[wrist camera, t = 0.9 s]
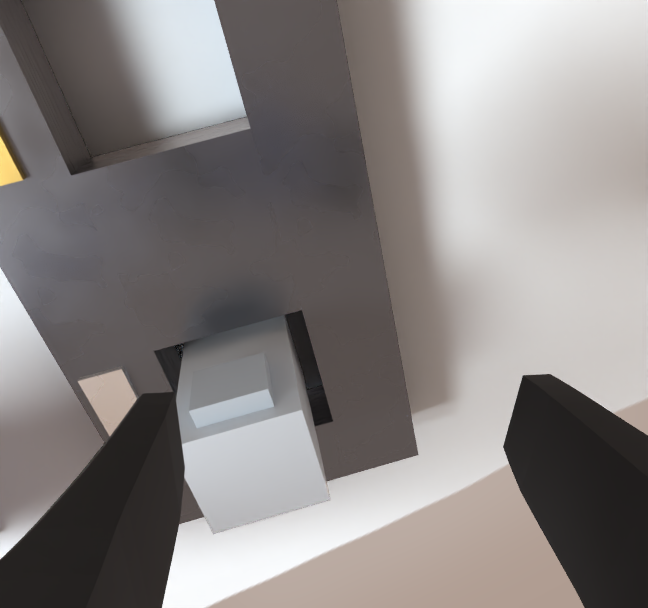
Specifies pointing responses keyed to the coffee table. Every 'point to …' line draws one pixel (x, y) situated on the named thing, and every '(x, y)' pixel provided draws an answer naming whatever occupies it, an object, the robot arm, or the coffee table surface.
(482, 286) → the coffee table surface
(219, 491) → the plug
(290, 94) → the panel
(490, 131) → the coffee table surface
